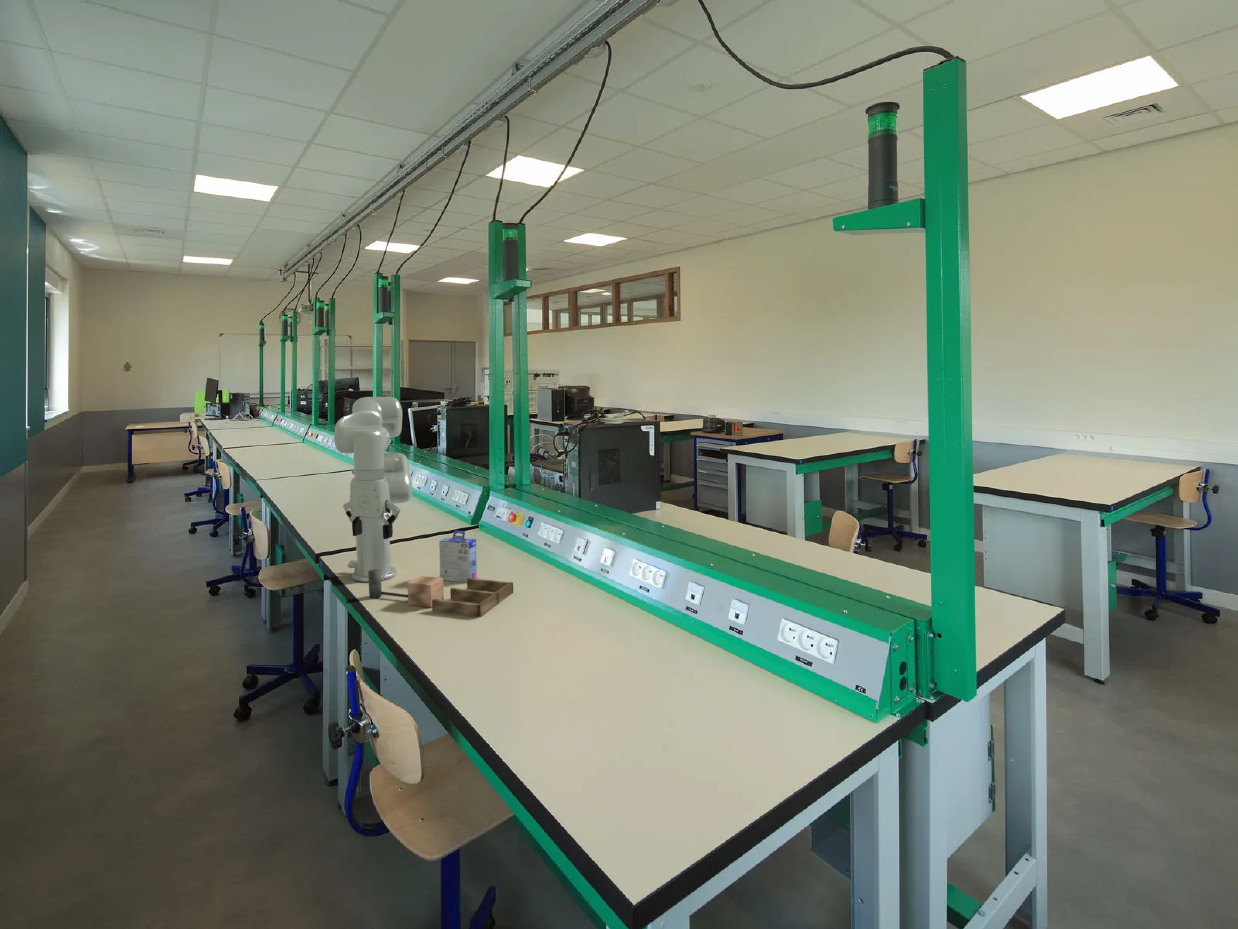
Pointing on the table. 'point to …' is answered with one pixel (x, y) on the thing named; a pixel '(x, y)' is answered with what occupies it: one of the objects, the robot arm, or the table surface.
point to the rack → (474, 597)
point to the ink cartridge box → (458, 558)
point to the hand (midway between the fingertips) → (372, 536)
